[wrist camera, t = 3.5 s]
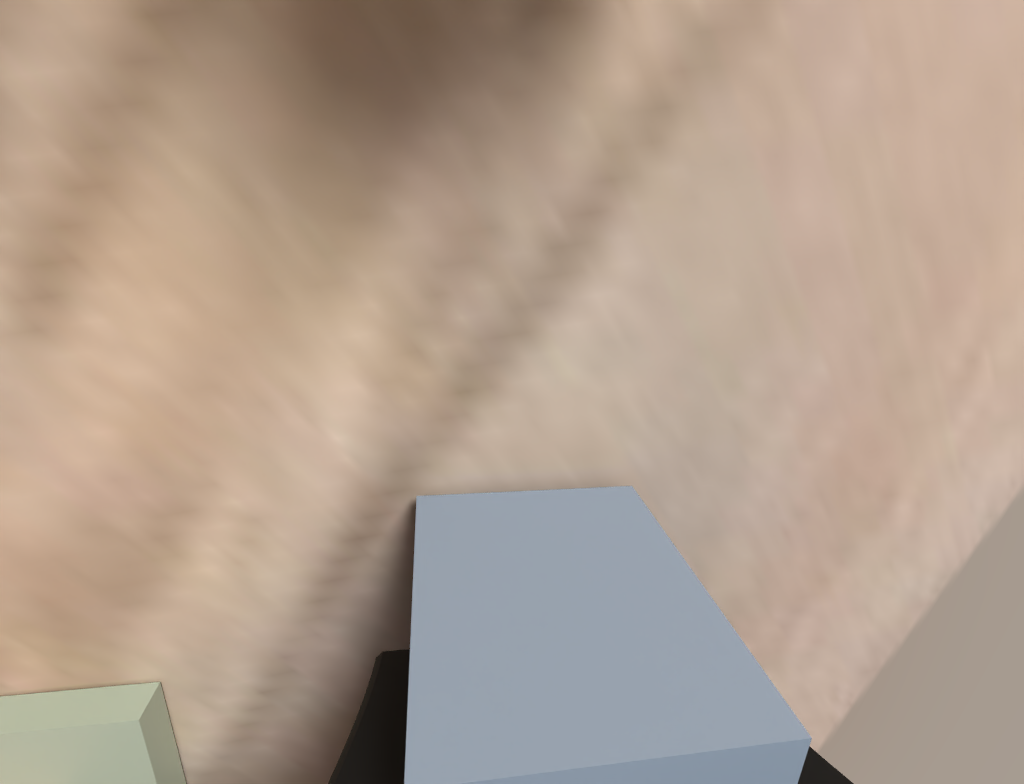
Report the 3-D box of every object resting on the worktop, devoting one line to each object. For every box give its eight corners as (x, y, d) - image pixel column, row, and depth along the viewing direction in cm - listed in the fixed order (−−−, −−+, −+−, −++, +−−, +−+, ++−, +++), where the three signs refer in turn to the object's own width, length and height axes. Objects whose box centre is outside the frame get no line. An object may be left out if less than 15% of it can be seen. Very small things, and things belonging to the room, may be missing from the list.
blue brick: (603, 718, 12) (713, 1049, 7) (424, 739, 11) (420, 1115, 7) (632, 485, 10) (812, 738, 5) (416, 496, 9) (403, 790, 5)
